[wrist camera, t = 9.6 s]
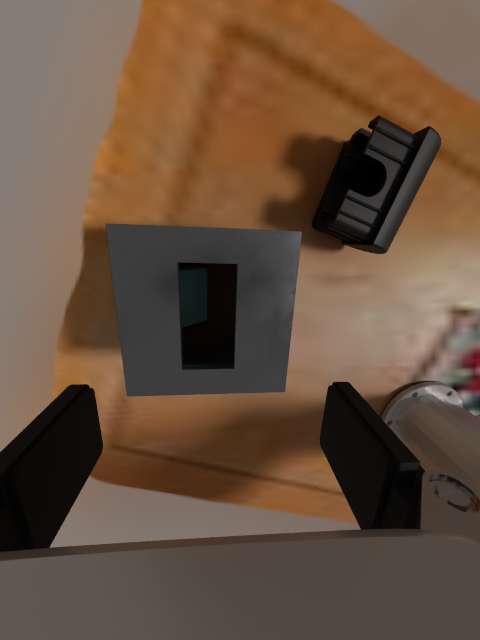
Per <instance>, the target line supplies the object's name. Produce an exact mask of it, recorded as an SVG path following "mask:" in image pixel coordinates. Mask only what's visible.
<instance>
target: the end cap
mask: <svg viewBox="0 0 480 640" xmlns="http://www.w3.org/2000/svg"><path fill="white" fill-rule="evenodd" d="M368 127H369V128H370V129H372V130H373V131H372V133H371V132H369V131H367V130H365V129H363V128H361V129H359V130H358V131H357V132H355V133H354V134H353V135H352V137H351V139H350V140H348V141H347V142H345V144H344V145H343V148H342V150H341V152H340V155H339V157H338V160H337V162H336V165H335V167H334V169H333V172H332V174H331V177H330V179H329V182H328V184H327V186H326V189H325V191H324V194H323V196H322V199H321V201H320V203H319V206H318V208H317V211H316V213H315V216H314V218H313V220H312V227H313V228H314V229H317V230H319V231H321V232H324V233H326V234H329V235H331V236H334V237H336V238H338V239H341V240H342V242H341V243H342V244H344V245H347V246H349V247H352V248H355V249H359V250H362V251H366V252H370V253H375V254H384V253H386V252H387V251H388V249H389V247H390V245H391V243H392V241H393V239H394V237H395V235H396V233H397V231H398V229H399V227H400V225H401V223H402V221H403V219H404V217H405V215H406V213H407V211H408V209H409V207H410V205H411V203H412V201H413V200H414V198H415V196H416V194H417V192H418V190H419V188H420V186H421V184H422V182H423V180H424V178H425V176H426V174H427V172H428V170H429V168H430V166H431V164H432V162H433V160H434V158H435V156H436V154H437V152H438V150H439V148H440V145H441V138H440V136H439V134H438V133H437V132H436V131H435V130H434V129H433V128H432V127H430V126H428V127H426V128H424V129H422V130H420V131H418V132H416V133H414V134H412V133H410V132H409V131H407V130H405V129H403V128H401V127H399V126H398V125H396V124H394V123H392V122H390V121H388V120H387V119H385V118H383V117H381V116H377V117H376V118H375V119H373V120H372V121H370V123H369V125H368Z"/></svg>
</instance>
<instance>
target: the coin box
mask: <svg viewBox="0 0 480 640" xmlns="http://www.w3.org/2000/svg"><path fill="white" fill-rule="evenodd" d="M106 232H107V240H108V248H109V256H110V264H111V272H112V280H113V288H114V296H115V304H116V312H117V320H118V328H119V336H120V344H121V352H122V360H123V368H124V376H125V384H126V392H127V396H158V395H194V394H229V393H265V392H285V385H286V376H287V367H288V358H289V348H290V339H291V330H292V320H293V311H294V302H295V292H296V283H297V274H298V264H299V255H300V246H301V236H302V231H277V230H252V229H228V228H203V227H178V226H153V225H128V224H106ZM179 262H183V263H222V264H237V266H236V298H235V331H234V340H182V322H181V297H180V273H179Z"/></svg>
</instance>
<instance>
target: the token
mask: <svg viewBox="0 0 480 640" xmlns="http://www.w3.org/2000/svg"><path fill="white" fill-rule="evenodd" d="M179 273H180V297H181V322H182V328H183V327H186V326H189V325H193V324H196V323H199V322H203V321H206V320H207V268H204V267H198V266H190V267H179Z"/></svg>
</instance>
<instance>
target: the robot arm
mask: <svg viewBox="0 0 480 640" xmlns="http://www.w3.org/2000/svg"><path fill="white" fill-rule="evenodd" d="M320 444H321V448H322V450H323V452H324V454H325V456H326V458H327V460H328V462H329V464H330V466H331V468H332V470H333V472H334V474H335V477H336V479H337V481H338V483H339V485H340V487H341V489H342V491H343V493H344V495H345V497H346V499H347V501H348V503H349V505H350V507H351V510H352V512H353V514H354V516H355V518H356V520H357V522H358V524H359V526H360V528H361V530H339V531H319V532H301V533H281V534H262V535H245V536H229V537H228V536H227V537H211V538H195V539H178V540H160V541H146V542H129V543H114V544H100V545H84V546H69V547H56V548H49V547H50V545H51V543H52V542H53V540H54V538H55V536H56V534H57V533H58V530H59V529H60V527H61V525H62V524H63V522H64V520H65V518H66V516H67V515H68V513H69V511H70V509H71V507H72V506H73V504H74V502H75V500H76V498H77V497H78V495H79V493H80V491H81V489H82V488H83V486H84V484H85V482H86V480H87V479H88V477H89V475H90V473H91V471H92V470H93V468H94V466H95V464H96V462H97V461H98V459H99V457H100V455H101V453H102V449H103V441H102V435H101V429H100V423H99V417H98V411H97V404H96V398H95V392H94V389H92V388H90V387H89V385H87V384H85V385H70V386H68V387H67V388H66V389H65V390H64V391H63V392H62V393H61V394H60V395H59V396H58V397H57V398H56V399H55V400H54V401H53V402H52V403H51V404H50V405H49V406H48V407H47V408H46V409H45V410H43V411H42V412H41V413H40V414H39V415H38V416H37V417H36V418H35V419H34V420H33V421H32V422H31V423H30V424H29V425H28V426H27V427H26V428H25V429H24V430H23V431H22V432H21V433H20V434H19V435H18V436H17V437H16V438H14V439H13V440H12V442H10V443H9V444H8V445H7V446H6V447H5V448H4V449H3V450H2V451H1V452H0V640H480V415H479V416H474V415H473V414H471V413H470V412H469V411H467V410H466V409H464V408H463V404H462V400H461V398H460V396H459V394H458V393H457V392H456V391H455V390H453V389H452V388H450V387H449V386H447V385H445V384H442V383H439V382H424V383H419V384H416V385H413V386H410V387H409V388H407V389H405V390H403V391H402V392H400V393H399V394H398V395H396V396H395V397H394V398H393V399H392V400H391V401H390V403H389V404H388V405H387V407H386V408H385V410H384V412H383V414H382V417H381V418H380V416H379V415H378V414H377V413H376V412H375V411H374V410H373V409H372V408H371V406H370V405H369V404H368V403H367V402H366V401H365V400H364V399H363V398H362V396H361V395H360V394H359V393H358V392H357V391H356V390H355V389H354V388H353V386H352V385H351V384H350V383H349V382H333V384H332V386H329V387H328V391H327V397H326V403H325V409H324V416H323V422H322V428H321V434H320ZM421 466H422V467H423V468H424V469H423V468H422V467H421Z"/></svg>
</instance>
